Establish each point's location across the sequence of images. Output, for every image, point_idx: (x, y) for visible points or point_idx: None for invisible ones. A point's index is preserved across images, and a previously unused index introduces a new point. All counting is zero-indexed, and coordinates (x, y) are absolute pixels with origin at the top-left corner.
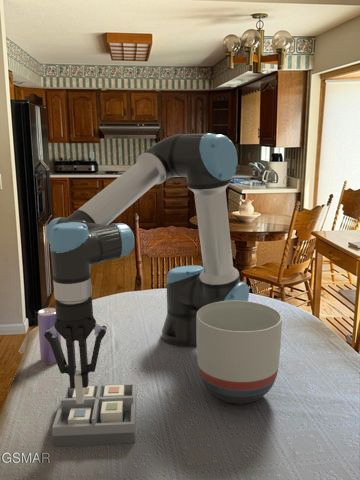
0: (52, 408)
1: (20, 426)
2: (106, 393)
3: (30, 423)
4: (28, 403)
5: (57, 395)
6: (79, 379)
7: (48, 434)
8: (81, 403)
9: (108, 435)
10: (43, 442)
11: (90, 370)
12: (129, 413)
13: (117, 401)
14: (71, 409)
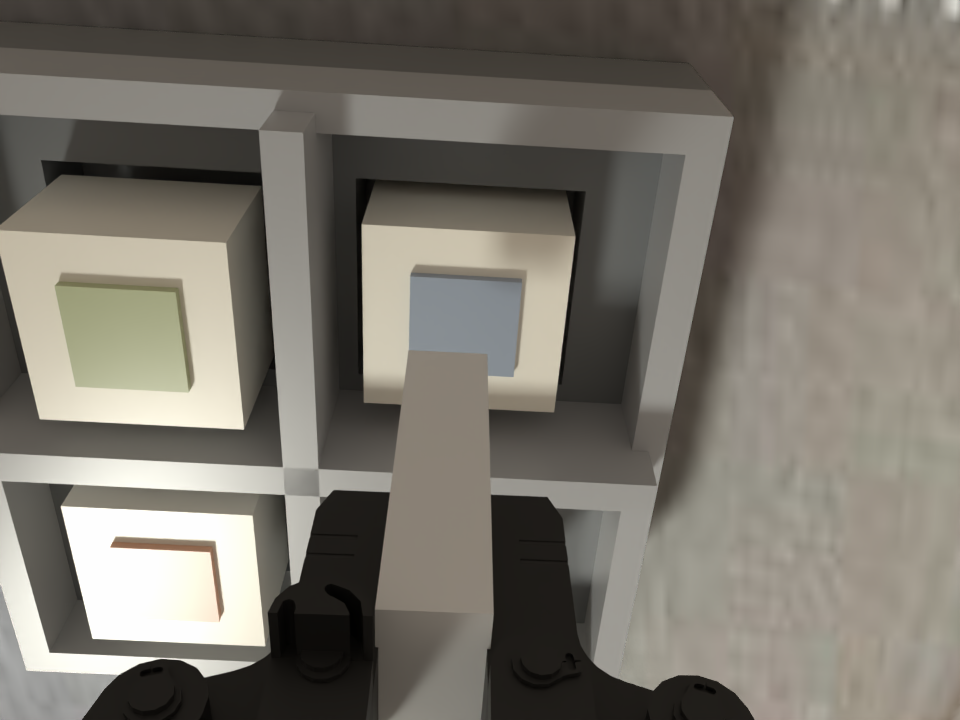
0: (698, 532)
1: (944, 362)
2: (230, 544)
3: (866, 388)
4: (867, 599)
5: (665, 655)
6: (414, 568)
7: (730, 237)
8: (428, 351)
9: (172, 52)
10: (773, 135)
11: (193, 688)
12: None
13: (91, 417)
14: (548, 394)
